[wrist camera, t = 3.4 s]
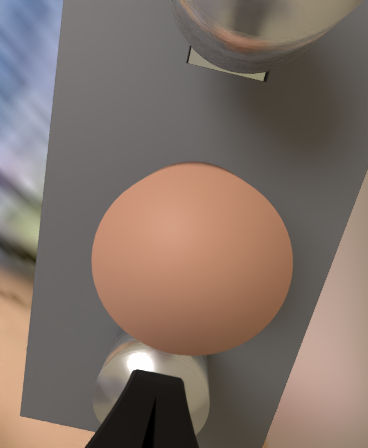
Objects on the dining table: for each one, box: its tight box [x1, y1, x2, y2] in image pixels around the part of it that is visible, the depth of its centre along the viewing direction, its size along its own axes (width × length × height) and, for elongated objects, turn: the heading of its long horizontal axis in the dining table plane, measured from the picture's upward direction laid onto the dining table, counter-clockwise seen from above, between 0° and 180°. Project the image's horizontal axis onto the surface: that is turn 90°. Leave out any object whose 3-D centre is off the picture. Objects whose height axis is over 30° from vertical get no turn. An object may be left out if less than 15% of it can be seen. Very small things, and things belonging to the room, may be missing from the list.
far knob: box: [92, 328, 210, 435], centre depth 10 cm, size 3×3×5 cm
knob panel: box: [20, 0, 368, 448], centre depth 10 cm, size 18×9×3 cm, turn 167°
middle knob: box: [91, 161, 293, 356], centre depth 7 cm, size 3×3×5 cm
